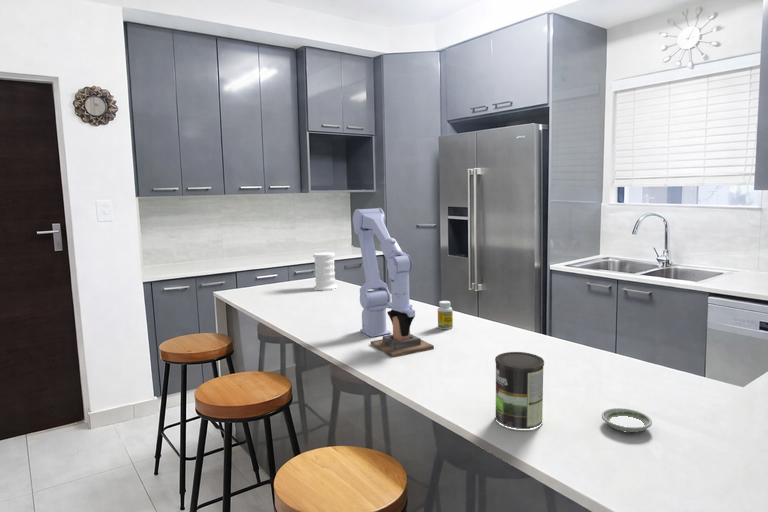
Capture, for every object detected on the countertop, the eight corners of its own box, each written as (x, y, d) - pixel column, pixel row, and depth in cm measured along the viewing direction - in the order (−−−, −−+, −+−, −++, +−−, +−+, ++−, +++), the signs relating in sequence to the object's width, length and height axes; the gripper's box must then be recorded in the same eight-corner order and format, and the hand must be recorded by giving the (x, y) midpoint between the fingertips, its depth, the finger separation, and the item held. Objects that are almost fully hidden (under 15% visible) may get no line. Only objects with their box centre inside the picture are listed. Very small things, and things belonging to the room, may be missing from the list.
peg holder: (370, 344, 171) (370, 335, 171) (409, 336, 178) (409, 328, 178) (392, 357, 158) (392, 347, 158) (433, 348, 165) (433, 339, 164)
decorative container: (311, 290, 259) (309, 255, 257) (318, 286, 270) (316, 252, 268) (333, 291, 257) (332, 255, 255) (339, 286, 269) (338, 251, 266)
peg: (393, 340, 169) (392, 316, 167) (403, 338, 170) (403, 315, 169) (399, 343, 165) (398, 319, 164) (410, 341, 167) (409, 317, 166)
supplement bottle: (446, 324, 192) (445, 299, 190) (455, 328, 187) (455, 302, 186) (434, 327, 189) (434, 301, 187) (444, 330, 184) (444, 304, 183)
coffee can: (503, 433, 109) (503, 369, 107) (489, 411, 119) (489, 352, 117) (551, 430, 110) (552, 366, 108) (533, 409, 120) (533, 350, 118)
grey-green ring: (636, 416, 115) (637, 406, 115) (661, 438, 105) (661, 426, 105) (593, 418, 115) (593, 408, 114) (614, 440, 105) (614, 429, 105)
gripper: (423, 295, 161) (423, 337, 163) (399, 287, 174) (400, 326, 176) (403, 298, 158) (404, 341, 160) (381, 290, 170) (382, 330, 172)
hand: (401, 334), depth 167 cm, fingers closed on peg, 4 cm apart
